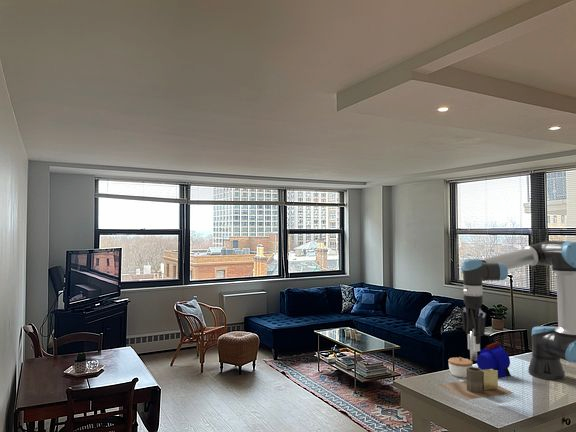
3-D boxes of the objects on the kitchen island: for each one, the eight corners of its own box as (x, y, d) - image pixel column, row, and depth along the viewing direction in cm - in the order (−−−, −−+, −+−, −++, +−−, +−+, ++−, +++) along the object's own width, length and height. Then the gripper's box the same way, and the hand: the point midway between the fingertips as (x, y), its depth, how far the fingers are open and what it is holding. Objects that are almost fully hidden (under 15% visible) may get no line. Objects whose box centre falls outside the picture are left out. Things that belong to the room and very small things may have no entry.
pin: (474, 358, 183) (473, 330, 184) (478, 360, 181) (478, 332, 181) (468, 359, 183) (468, 331, 183) (473, 361, 180) (472, 332, 180)
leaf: (496, 388, 183) (496, 370, 183) (497, 388, 182) (497, 370, 183) (482, 389, 181) (482, 371, 182) (483, 390, 181) (483, 371, 181)
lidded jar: (465, 382, 194) (465, 362, 194) (444, 376, 202) (443, 356, 202) (477, 377, 201) (476, 357, 201) (455, 372, 209) (455, 352, 209)
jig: (483, 381, 195) (482, 359, 196) (514, 395, 178) (513, 371, 179) (438, 386, 189) (438, 363, 189) (466, 402, 171) (466, 376, 172)
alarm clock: (512, 376, 203) (511, 344, 204) (493, 379, 198) (492, 347, 199) (491, 368, 214) (490, 338, 215) (472, 371, 210) (472, 341, 210)
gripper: (453, 292, 189) (454, 346, 188) (478, 298, 174) (479, 355, 173) (467, 292, 191) (468, 344, 190) (493, 297, 176) (494, 354, 175)
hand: (473, 349), depth 182 cm, fingers closed on pin, 3 cm apart
